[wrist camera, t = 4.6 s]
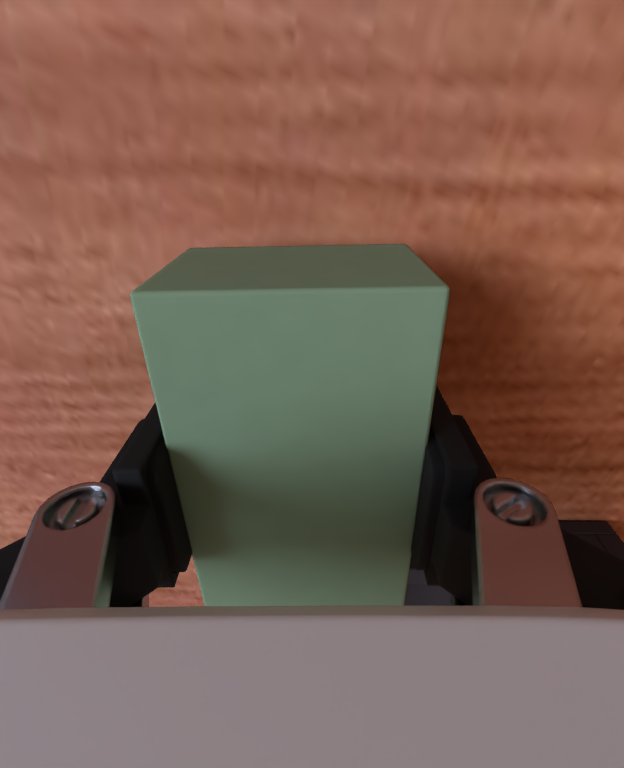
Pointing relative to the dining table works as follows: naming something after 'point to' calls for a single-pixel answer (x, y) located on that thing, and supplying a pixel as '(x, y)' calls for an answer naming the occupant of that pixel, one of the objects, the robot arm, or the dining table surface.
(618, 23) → the dining table surface
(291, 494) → the green rectangular block
